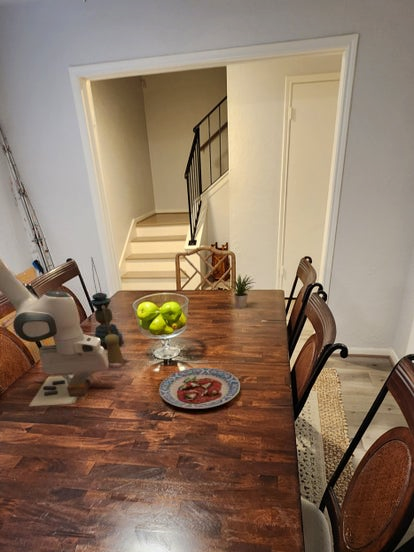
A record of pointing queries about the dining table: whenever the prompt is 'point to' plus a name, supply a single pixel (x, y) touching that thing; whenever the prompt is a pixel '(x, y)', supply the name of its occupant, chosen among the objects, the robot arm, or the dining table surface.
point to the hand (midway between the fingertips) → (80, 383)
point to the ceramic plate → (199, 388)
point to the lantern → (103, 316)
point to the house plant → (241, 291)
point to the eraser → (78, 384)
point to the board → (54, 399)
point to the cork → (113, 349)
